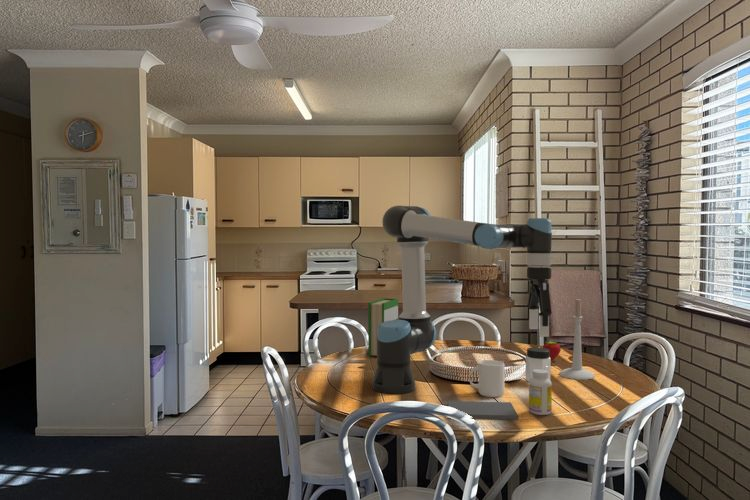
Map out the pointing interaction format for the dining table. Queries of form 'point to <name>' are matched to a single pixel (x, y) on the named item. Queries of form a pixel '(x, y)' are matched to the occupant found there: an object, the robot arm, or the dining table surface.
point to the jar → (537, 361)
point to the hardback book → (379, 319)
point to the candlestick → (577, 351)
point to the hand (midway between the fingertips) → (538, 332)
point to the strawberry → (552, 349)
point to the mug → (490, 378)
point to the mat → (486, 409)
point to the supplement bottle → (540, 393)
